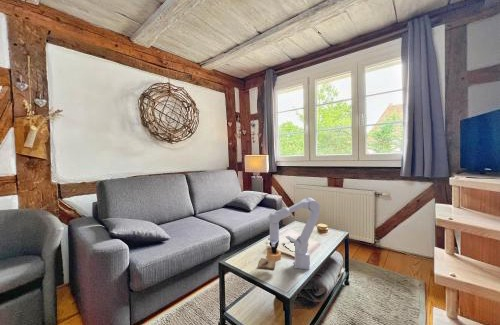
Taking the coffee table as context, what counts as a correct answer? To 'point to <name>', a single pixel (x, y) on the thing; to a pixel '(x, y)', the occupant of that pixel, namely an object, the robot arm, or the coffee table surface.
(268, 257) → the cord coil ring
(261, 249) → the coffee table surface
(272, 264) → the walnut base board
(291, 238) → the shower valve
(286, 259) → the coffee table surface
